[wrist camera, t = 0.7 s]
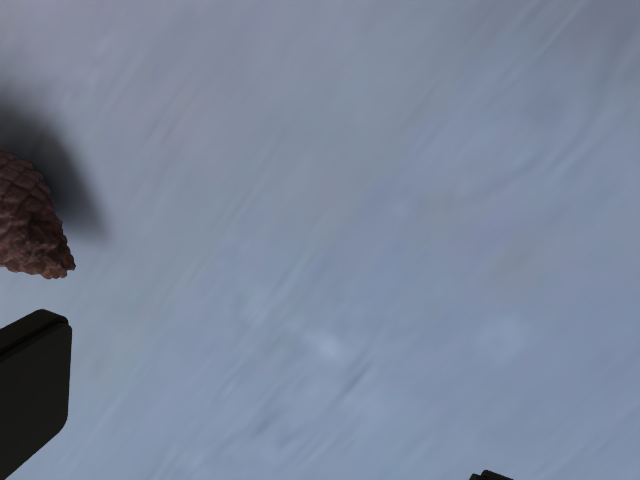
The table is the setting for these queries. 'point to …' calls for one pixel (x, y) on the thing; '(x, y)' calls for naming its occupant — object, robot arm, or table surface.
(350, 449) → the table surface
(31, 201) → the pine cone
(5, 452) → the robot arm
